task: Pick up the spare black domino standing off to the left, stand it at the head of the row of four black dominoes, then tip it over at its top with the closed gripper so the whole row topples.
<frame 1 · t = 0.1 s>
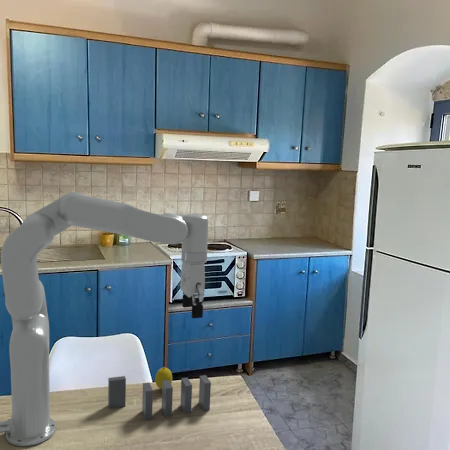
hand: (192, 312, 137), 31 cm above the table, tool pointing down, fingers open, 9 cm apart
domino 1: (116, 405, 141), on the table
domino 5: (204, 406, 143), on the table
domino 2: (147, 414, 137), on the table
domino 3: (166, 411, 139), on the table
domino 4: (185, 408, 141), on the table
lemon: (163, 390, 151), on the table
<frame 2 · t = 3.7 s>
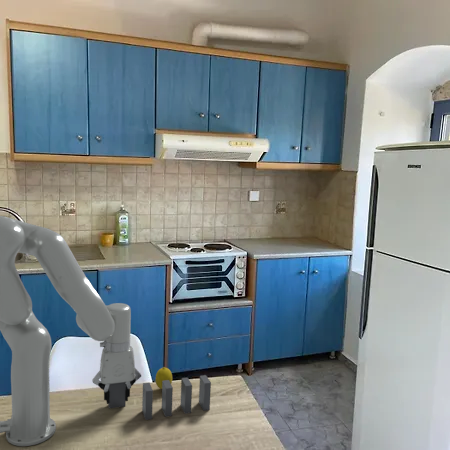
hand: (116, 399, 140), 2 cm above the table, tool pointing down, fingers closed on domino 1, 4 cm apart
domino 1: (116, 405, 141), on the table, touching gripper
everything else where it was.
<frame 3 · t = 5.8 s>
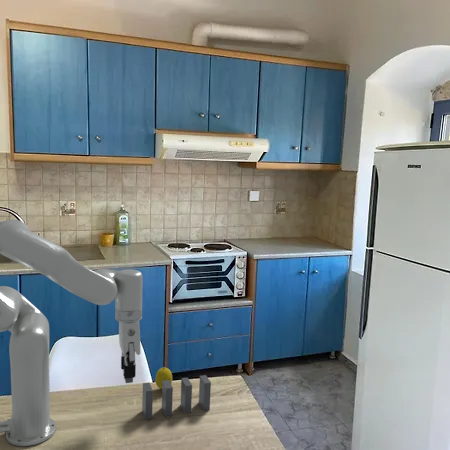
hand: (128, 372, 132), 14 cm above the table, tool pointing down, fingers closed on domino 1, 4 cm apart
domino 1: (128, 378, 133), point 12 cm above the table, touching gripper
everything else where it was.
when the fingers open (3 cm above the table, at t = 8.1 s): domino 1 stays where it is, on the table.
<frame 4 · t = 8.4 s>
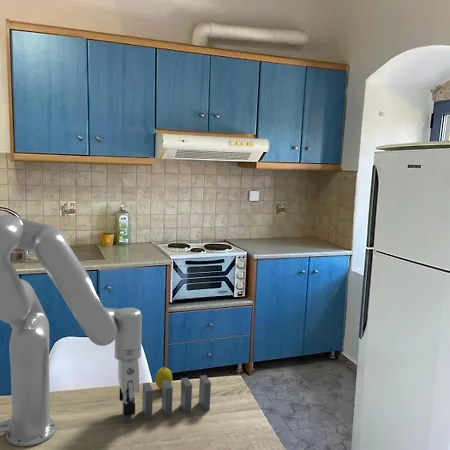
hand: (127, 407, 134), 3 cm above the table, tool pointing down, fingers open, 8 cm apart
domino 1: (126, 417, 135), on the table
everything else where it was.
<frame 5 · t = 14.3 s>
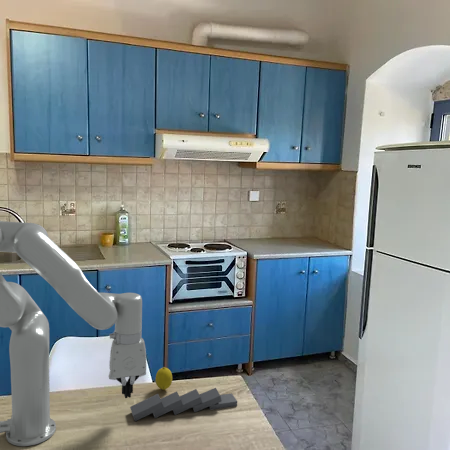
hand: (127, 395, 133), 7 cm above the table, tool pointing down, fingers closed
domino 1: (132, 414, 135), point 1 cm above the table, tilted 71°, touching domino 2
domino 5: (207, 404, 143), point 1 cm above the table, tilted 90°, touching domino 4
domino 2: (152, 411, 137), point 1 cm above the table, tilted 71°, touching domino 1, domino 3
domino 3: (172, 408, 139), point 1 cm above the table, tilted 71°, touching domino 2, domino 4
domino 4: (191, 405, 141), point 1 cm above the table, tilted 73°, touching domino 3, domino 5
everything else where it was.
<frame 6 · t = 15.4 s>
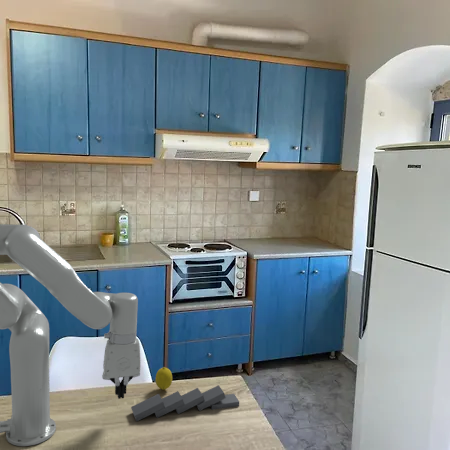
hand: (120, 396, 133), 7 cm above the table, tool pointing down, fingers closed
domino 4: (196, 404, 142), point 1 cm above the table, tilted 71°, touching domino 3, domino 5
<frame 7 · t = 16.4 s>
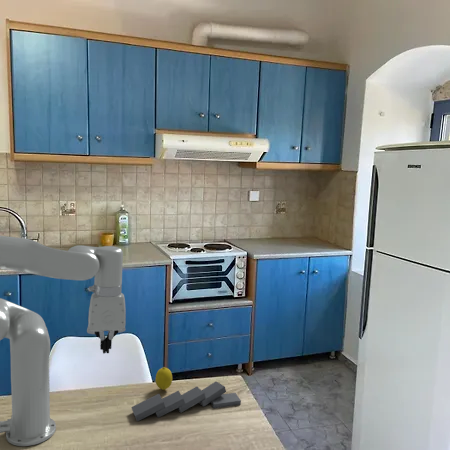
hand: (105, 351, 132), 20 cm above the table, tool pointing down, fingers closed
domino 5: (211, 402, 144), on the table, tilted 90°, touching domino 4
domino 4: (198, 401, 143), point 1 cm above the table, tilted 74°, touching domino 3, domino 5
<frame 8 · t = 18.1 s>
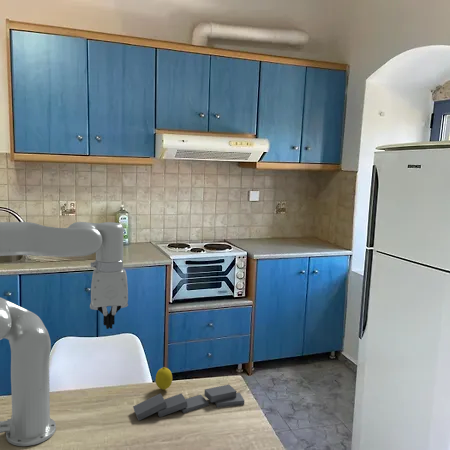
hand: (108, 327, 132), 27 cm above the table, tool pointing down, fingers closed
domino 5: (215, 402, 145), on the table, tilted 90°, touching domino 4
domino 2: (156, 410, 138), point 1 cm above the table, tilted 79°, touching domino 1, domino 3
domino 3: (179, 408, 140), on the table, tilted 90°, touching domino 2
domino 4: (207, 395, 144), point 2 cm above the table, tilted 91°, touching domino 5
at the end: domino 5 tilted 90°; domino 1 tilted 72°; domino 1 inside the target area (0.2 cm from its centre), point 0.9 cm above the table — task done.
